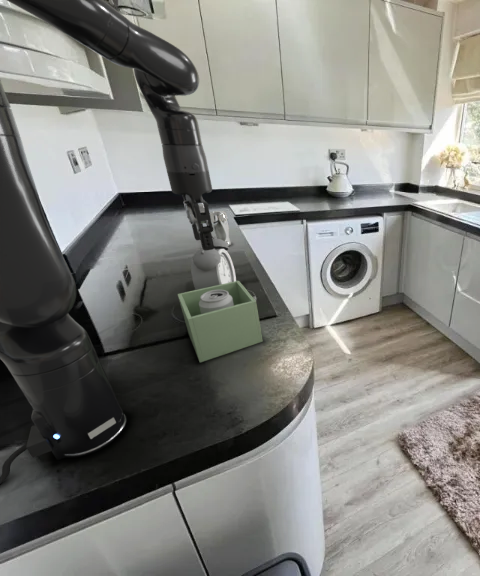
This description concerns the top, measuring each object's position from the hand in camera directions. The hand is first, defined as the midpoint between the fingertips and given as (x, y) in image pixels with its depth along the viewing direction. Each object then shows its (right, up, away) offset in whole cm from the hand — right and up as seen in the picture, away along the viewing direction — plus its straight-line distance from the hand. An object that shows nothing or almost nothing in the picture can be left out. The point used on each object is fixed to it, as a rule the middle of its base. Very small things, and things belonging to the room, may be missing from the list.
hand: (204, 244), depth 73 cm
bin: (-1, -23, +11) cm, 25 cm away
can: (-1, -22, +11) cm, 25 cm away
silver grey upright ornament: (-33, +10, +76) cm, 84 cm away
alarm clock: (-11, -14, +29) cm, 34 cm away
